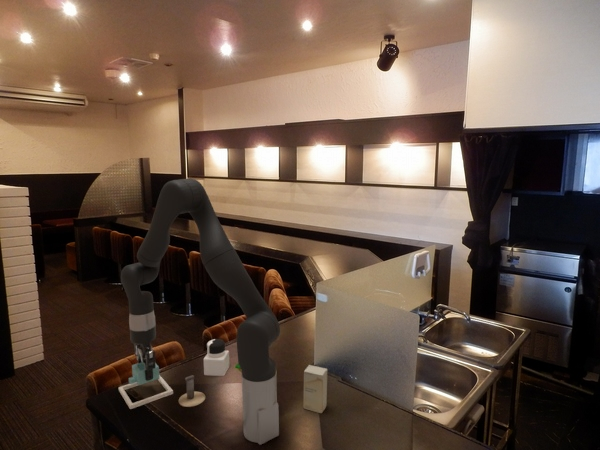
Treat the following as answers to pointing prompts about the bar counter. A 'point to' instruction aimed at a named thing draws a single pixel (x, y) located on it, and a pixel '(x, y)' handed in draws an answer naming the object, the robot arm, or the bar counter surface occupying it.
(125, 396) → the tray
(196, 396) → the peg stand
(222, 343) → the medicine bottle
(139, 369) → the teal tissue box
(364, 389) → the bar counter surface
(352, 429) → the bar counter surface
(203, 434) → the bar counter surface
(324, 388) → the skincare box
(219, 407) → the bar counter surface
